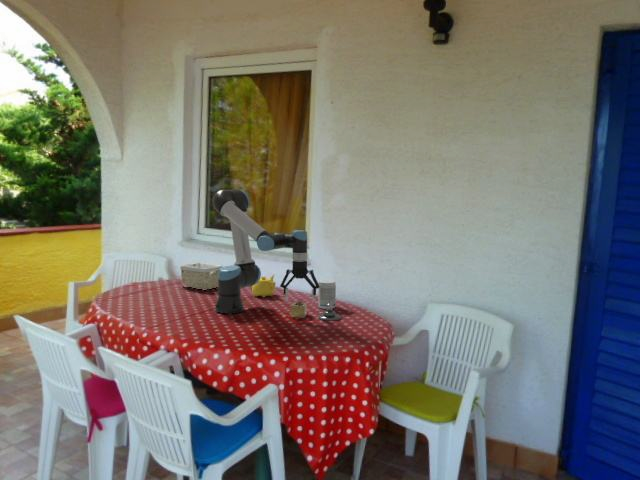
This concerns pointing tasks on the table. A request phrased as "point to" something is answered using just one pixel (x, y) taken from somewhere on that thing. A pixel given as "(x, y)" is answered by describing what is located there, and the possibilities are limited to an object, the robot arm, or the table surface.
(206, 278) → the storage basket
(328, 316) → the hub
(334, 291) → the supplement tub
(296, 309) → the collar
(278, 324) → the table surface
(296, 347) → the table surface
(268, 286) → the teapot
